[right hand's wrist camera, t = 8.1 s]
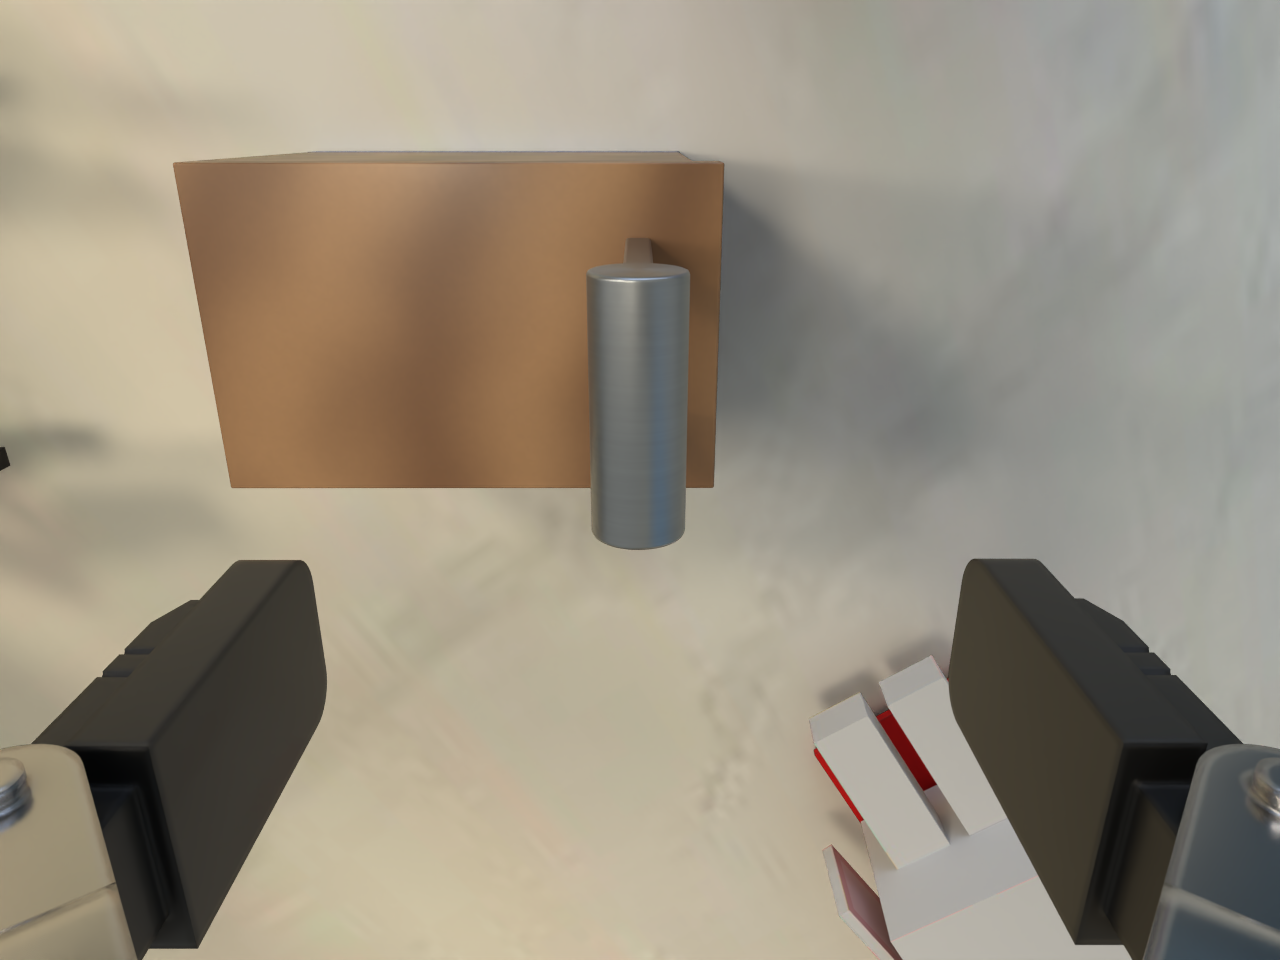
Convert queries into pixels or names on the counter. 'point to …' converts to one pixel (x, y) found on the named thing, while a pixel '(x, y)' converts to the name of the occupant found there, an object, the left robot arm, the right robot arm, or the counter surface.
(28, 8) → the counter surface
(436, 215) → the lid
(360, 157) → the chest
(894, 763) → the toy
